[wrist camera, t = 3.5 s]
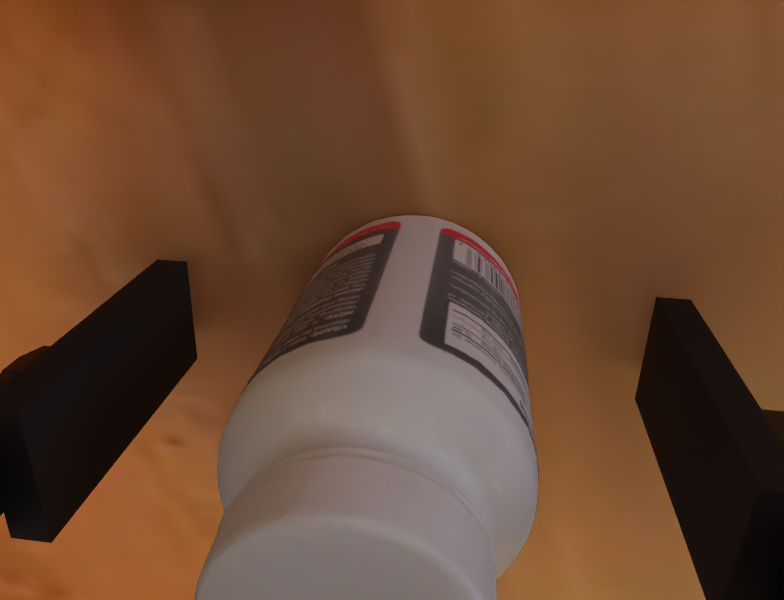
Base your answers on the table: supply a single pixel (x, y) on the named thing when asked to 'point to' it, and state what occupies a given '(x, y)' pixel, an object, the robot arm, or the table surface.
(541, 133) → the table surface
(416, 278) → the pill bottle
